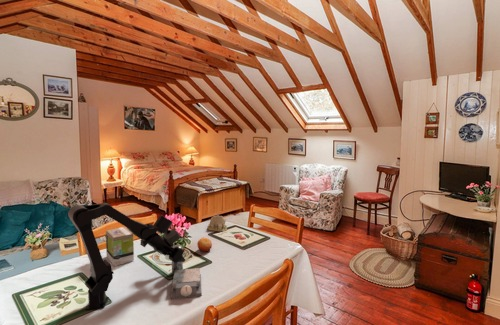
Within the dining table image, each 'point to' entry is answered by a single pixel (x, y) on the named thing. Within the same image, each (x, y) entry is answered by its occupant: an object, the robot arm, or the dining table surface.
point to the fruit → (204, 244)
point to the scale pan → (186, 276)
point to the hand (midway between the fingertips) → (179, 258)
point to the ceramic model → (217, 223)
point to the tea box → (119, 246)
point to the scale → (186, 290)
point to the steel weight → (179, 264)
